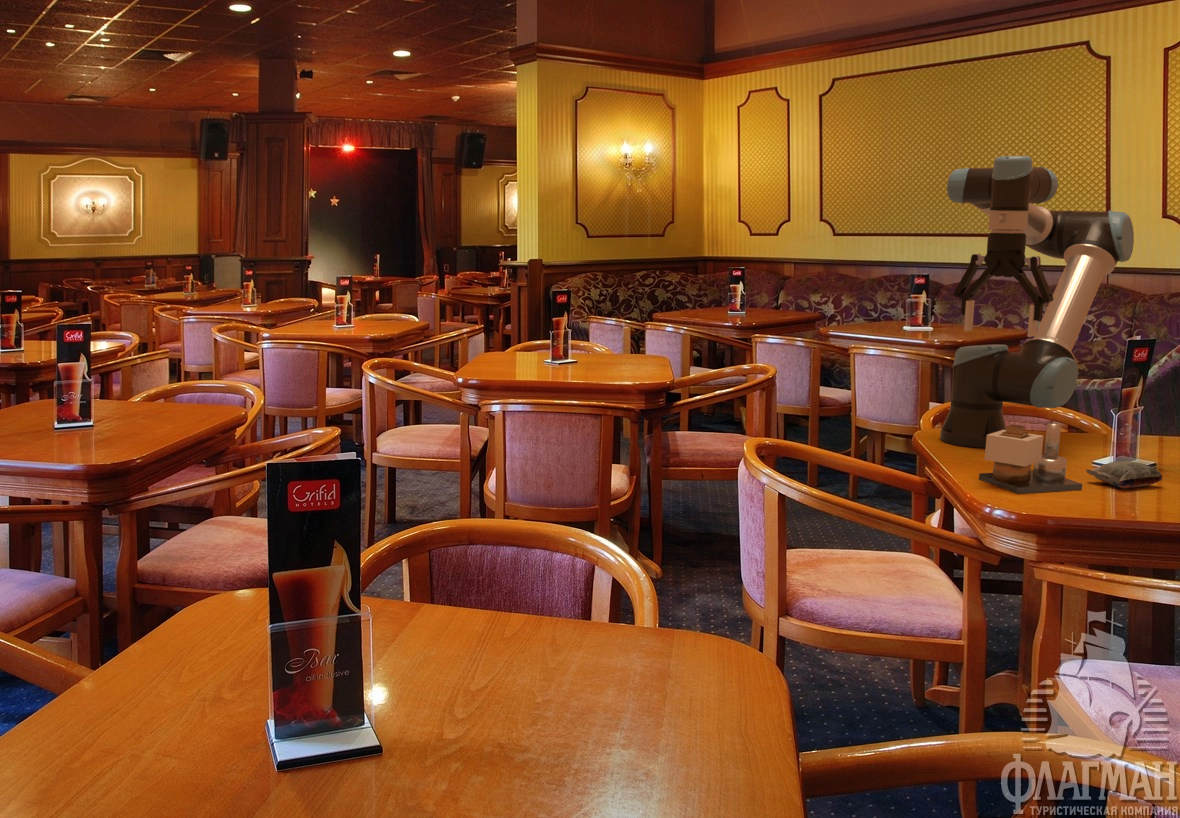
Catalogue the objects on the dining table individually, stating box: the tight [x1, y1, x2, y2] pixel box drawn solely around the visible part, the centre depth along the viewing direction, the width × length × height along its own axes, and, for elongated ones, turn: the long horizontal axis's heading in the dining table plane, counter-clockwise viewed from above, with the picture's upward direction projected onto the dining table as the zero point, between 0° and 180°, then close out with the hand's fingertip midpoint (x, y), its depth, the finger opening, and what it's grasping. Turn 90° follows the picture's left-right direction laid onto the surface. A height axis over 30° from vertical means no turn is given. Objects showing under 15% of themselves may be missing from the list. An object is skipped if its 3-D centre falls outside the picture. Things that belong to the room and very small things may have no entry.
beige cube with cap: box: [984, 430, 1044, 467], centre depth 214 cm, size 8×8×5 cm
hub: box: [992, 424, 1033, 484], centre depth 214 cm, size 7×7×11 cm
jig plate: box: [978, 469, 1084, 495], centre depth 216 cm, size 15×12×1 cm
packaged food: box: [1086, 460, 1163, 489], centre depth 217 cm, size 9×12×5 cm
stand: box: [1032, 422, 1068, 481], centre depth 216 cm, size 6×6×11 cm
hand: (999, 333), depth 230 cm, fingers open, 13 cm apart
